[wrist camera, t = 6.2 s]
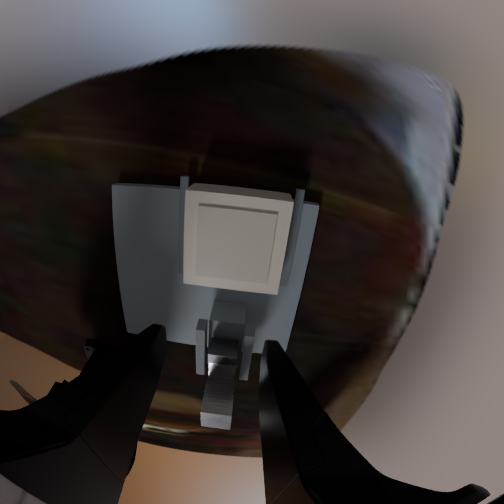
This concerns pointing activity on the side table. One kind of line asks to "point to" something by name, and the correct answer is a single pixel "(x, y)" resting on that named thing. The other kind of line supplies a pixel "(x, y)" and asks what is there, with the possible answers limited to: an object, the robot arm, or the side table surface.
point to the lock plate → (194, 296)
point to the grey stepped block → (219, 384)
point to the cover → (235, 237)
